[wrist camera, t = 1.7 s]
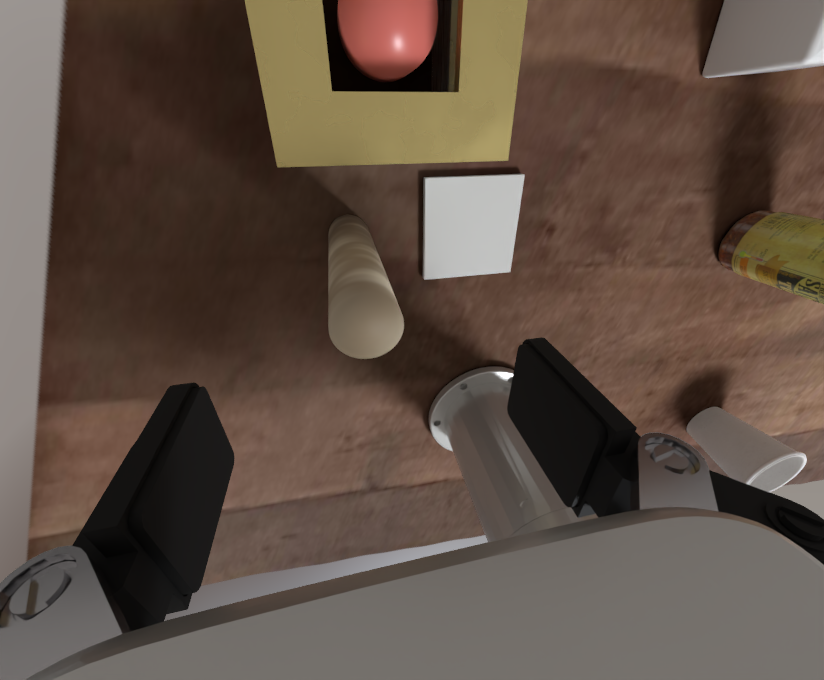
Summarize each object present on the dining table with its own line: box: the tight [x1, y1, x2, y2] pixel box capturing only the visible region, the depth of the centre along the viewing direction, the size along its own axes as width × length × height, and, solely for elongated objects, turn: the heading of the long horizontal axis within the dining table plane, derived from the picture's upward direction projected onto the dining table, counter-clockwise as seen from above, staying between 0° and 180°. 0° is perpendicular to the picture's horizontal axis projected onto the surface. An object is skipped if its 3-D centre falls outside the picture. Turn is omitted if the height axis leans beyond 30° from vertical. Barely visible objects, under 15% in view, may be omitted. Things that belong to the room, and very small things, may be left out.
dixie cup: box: [686, 407, 807, 492], centre depth 48 cm, size 8×8×10 cm
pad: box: [423, 174, 525, 280], centre depth 28 cm, size 8×8×1 cm
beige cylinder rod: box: [328, 215, 404, 359], centre depth 21 cm, size 3×3×15 cm
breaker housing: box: [245, 0, 528, 167], centre depth 18 cm, size 13×13×7 cm
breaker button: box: [337, 0, 438, 83], centre depth 18 cm, size 5×5×2 cm
